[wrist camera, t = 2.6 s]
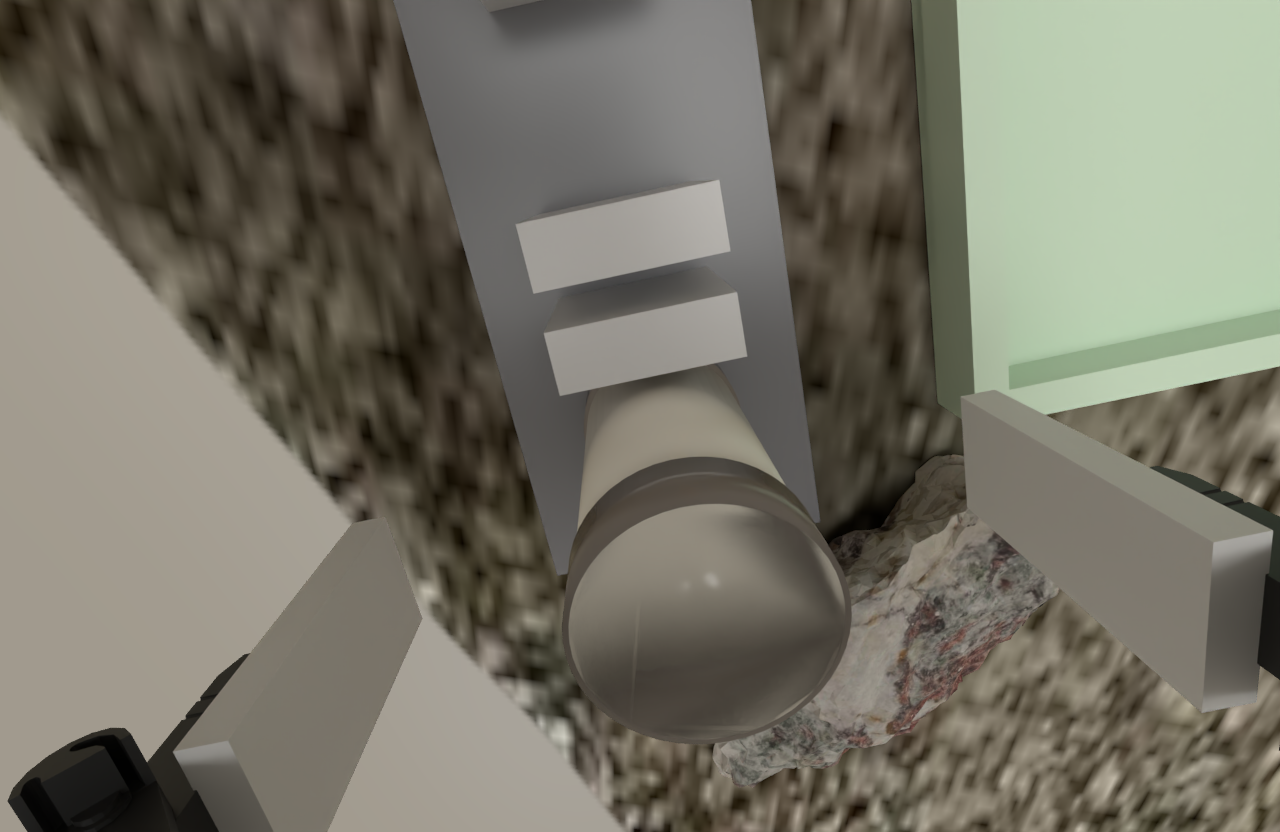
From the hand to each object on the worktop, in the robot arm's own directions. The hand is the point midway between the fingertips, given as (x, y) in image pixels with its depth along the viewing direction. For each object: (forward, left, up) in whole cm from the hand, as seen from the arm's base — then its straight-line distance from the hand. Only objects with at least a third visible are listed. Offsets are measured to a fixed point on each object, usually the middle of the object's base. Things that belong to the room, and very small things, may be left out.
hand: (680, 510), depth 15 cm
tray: (-6, +16, -7) cm, 19 cm away
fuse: (0, 0, -6) cm, 6 cm away
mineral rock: (+9, +5, -8) cm, 13 cm away
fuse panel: (-4, 0, -7) cm, 8 cm away
